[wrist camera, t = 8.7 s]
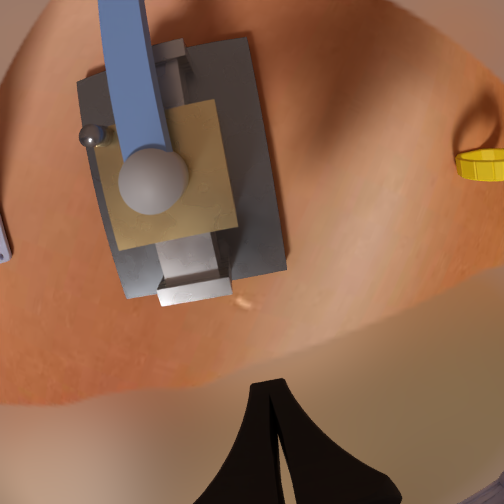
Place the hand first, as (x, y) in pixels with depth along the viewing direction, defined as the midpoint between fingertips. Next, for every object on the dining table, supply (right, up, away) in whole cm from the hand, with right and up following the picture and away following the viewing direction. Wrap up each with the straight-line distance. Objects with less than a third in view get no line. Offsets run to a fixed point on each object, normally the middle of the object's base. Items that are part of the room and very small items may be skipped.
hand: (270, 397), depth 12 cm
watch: (+17, +13, +8) cm, 23 cm away
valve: (-5, +11, +7) cm, 14 cm away
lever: (-6, +13, 0) cm, 14 cm away
